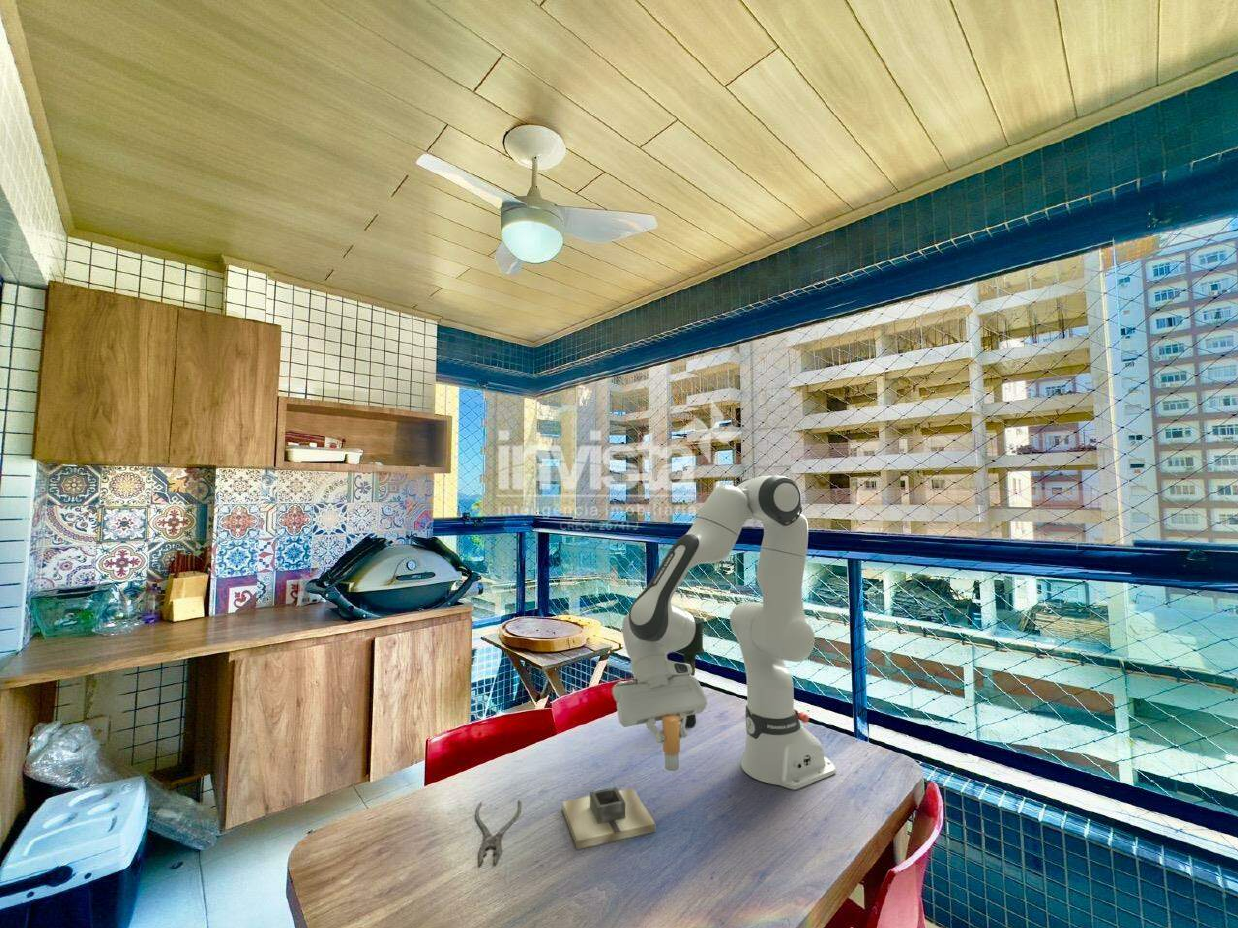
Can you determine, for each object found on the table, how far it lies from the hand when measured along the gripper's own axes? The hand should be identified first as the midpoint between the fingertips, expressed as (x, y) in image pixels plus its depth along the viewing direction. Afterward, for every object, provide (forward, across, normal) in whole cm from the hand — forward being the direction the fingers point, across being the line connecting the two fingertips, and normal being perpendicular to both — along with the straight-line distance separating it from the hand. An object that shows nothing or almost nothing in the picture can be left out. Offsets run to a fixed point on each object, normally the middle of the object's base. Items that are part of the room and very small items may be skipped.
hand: (672, 739), depth 107 cm
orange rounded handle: (+4, 0, +5) cm, 6 cm away
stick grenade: (-15, +22, +37) cm, 46 cm away
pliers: (+6, -35, +15) cm, 39 cm away
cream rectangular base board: (+9, -14, +12) cm, 21 cm away
